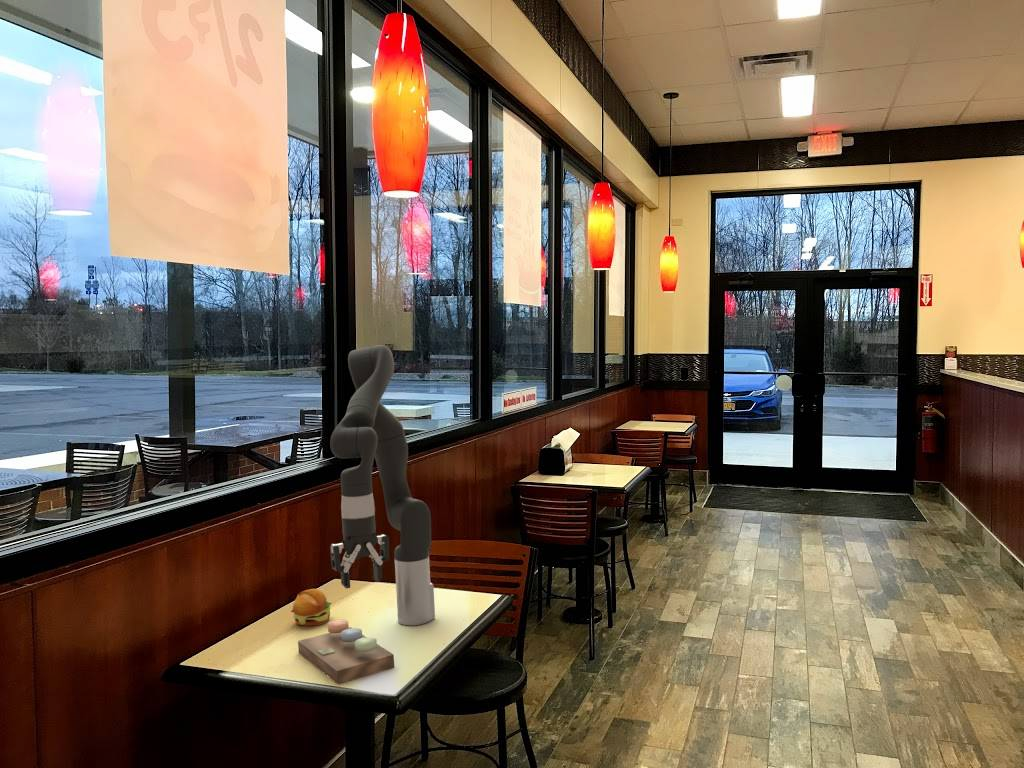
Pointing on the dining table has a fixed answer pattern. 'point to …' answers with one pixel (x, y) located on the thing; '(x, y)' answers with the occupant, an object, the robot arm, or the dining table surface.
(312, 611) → the cheeseburger
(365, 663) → the console
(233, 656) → the dining table surface
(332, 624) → the button terracotta
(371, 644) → the button sage
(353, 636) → the button slate
